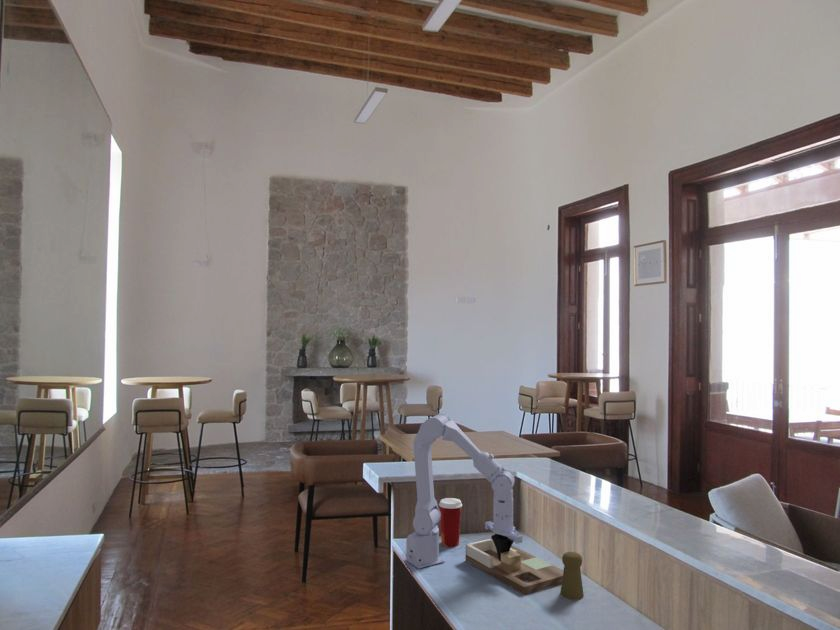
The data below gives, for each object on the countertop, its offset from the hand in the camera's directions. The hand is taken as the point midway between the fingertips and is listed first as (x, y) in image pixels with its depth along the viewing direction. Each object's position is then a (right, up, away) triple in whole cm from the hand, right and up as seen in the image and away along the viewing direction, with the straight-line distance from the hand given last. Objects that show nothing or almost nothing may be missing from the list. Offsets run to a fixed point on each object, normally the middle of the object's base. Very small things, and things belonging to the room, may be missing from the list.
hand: (503, 560), depth 180 cm
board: (+4, -3, 0) cm, 5 cm away
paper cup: (-14, -3, +21) cm, 26 cm away
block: (+2, -1, -3) cm, 4 cm away
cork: (+16, -3, -15) cm, 22 cm away
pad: (+10, -3, +1) cm, 10 cm away
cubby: (-3, -1, +5) cm, 6 cm away
